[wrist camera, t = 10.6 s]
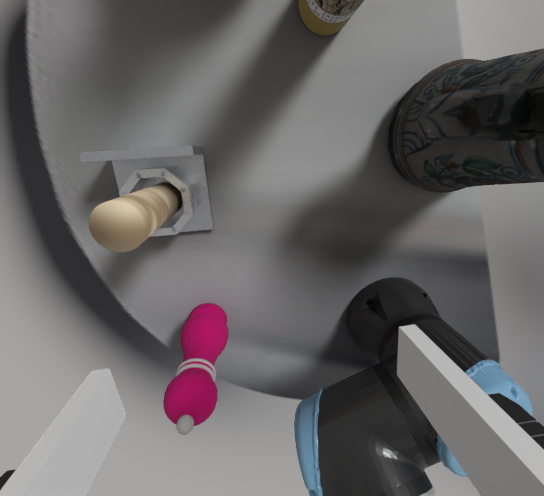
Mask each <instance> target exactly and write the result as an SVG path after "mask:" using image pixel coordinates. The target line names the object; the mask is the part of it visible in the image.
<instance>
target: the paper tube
mask: <svg viewBox="0 0 544 496" xmlns="http://www.w3.org/2000/svg"><path fill="white" fill-rule="evenodd" d="M363 1H364V0H299V1H298V3H299V11H300V15H301V18H302V20H303V22H304V23H305V25H306V26H307V27H308V28H309V29H310V30H311V31H312V32H314V33H316V34H319V35H331V34H334V33H336V32H337V31H339V30H340V29H341V28H342V27H343V26H344V25H345V24H346V23H347V21H348V20H349V19H350V18H351V16H352V15H353V14H354V13H355V11H356V10H357V9H358V8H359V6H360V5H361V4H362V3H363Z"/></svg>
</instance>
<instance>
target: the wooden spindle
mask: <svg viewBox="0 0 544 496" xmlns="http://www.w3.org/2000/svg"><path fill="white" fill-rule="evenodd" d="M182 205H183V200H182V194H181V191H180V190H179V189H178V188H176V187H175V186H174V185H173V184H171V183H167V182H163V183H159V184H156V185H153V186H150V187H147V188H144V189H141V190H139V191H136V192H133V193H130V194H127V195H124V196H121V197H118V198H115V199H112V200H110V201H107V202H104V203H101V204H100V205H98V206H97V207H95V208H94V210H93V211H92V213H91V215H90V218H89V228H90V231H91V234H92V236H93V237H94V239H95V240H96V241H97V242H98V243H99V244H100V245H101V246H103V247H104V248H106V249H108V250H111V251H114V252H128V251H132V250H134V249H136V248H137V247H138V246H139V245H141V244H142V243H143V242H144V241H145V240H146V239H147V238H148V237H150V236H151V235H152V234H153V233H154V232H155V231H156V230H157V229H159V228H160V227H161V226H162V225H163V224H164V223H165V222H166V221H168V220H169V219H170V218H171V217H172V216H173V215H174V214H175V213H177V212H178V211H179V210H180V209H181V207H182Z"/></svg>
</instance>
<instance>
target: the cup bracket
mask: <svg viewBox="0 0 544 496" xmlns="http://www.w3.org/2000/svg"><path fill="white" fill-rule="evenodd" d="M78 153H79V156H80V160H81V162H94V161H112V165H113V169H114V173H115V177H116V181H117V185H118V189H119V195H120V197H121V196H124V195H127V194H130V193H133V192H136V191H139V190H141V189H144V188H147V187H150V186H153V185H156V184H159V183H163V182H167V183H171V184H173V185H174V186H175V187H176V188H178V189H179V190H180V191H181V194H182V200H183V205H182V207H181V209H180V210H179V211H178V212H177V213H175V214H174V215H173V216H172V217H171V218H170V219H169V220H168V221H166V222H165V223H164V224H163V225H162V226H161V227H160V228H159V229H157V230H156V231H155V232H154V233H153V234H152V235H151V236H150V237H153V236H165V235H177V234H178V233H179V232H187V231H199V230H211V229H214V225H213V218H212V210H211V203H210V196H209V188H208V181H207V174H206V166H205V159H204V152H203V147H198V146H178V147H161V148H144V149H127V150H110V151H93V152H78Z"/></svg>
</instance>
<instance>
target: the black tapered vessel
mask: <svg viewBox="0 0 544 496" xmlns="http://www.w3.org/2000/svg"><path fill="white" fill-rule="evenodd" d="M388 149H389V152H390V156H391V159H392V162H393V166H394V167H395V168H396V169H397V171H398V172H399V173H400V174H401V175H402V176H403V177H404V179H405V180H407V181H409V182H411V183H413V184H414V185H416V186H418V187H420V188H422V189H424V190H428V191H432V192H451V191H457V190H460V189H463V188H466V187H471V186H482V185H494V184H513V183H532V182H544V49H539V50H534V51H530V52H525V53H519V54H514V55H510V56H505V57H502V58H497V59H492V60H487V61H481V60H475V59H462V60H456V61H452V62H449V63H446V64H444V65H442V66H440V67H438V68H436V69H434V70H432V71H431V72H429V73H428V74H427V75H426V76H424V77H423V78H422V79H421V80H420V81H419V82H418V83H416V84H415V85H414V86H413V87H412V88H411V89H410V90H409V91H408V93H407V94H406V95H405V96H404V97H403V98H402V99H401V101H400V102H399V103H398V105H397V108H396V110H395V113H394V116H393V119H392V121H391V124H390V127H389V137H388Z"/></svg>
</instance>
